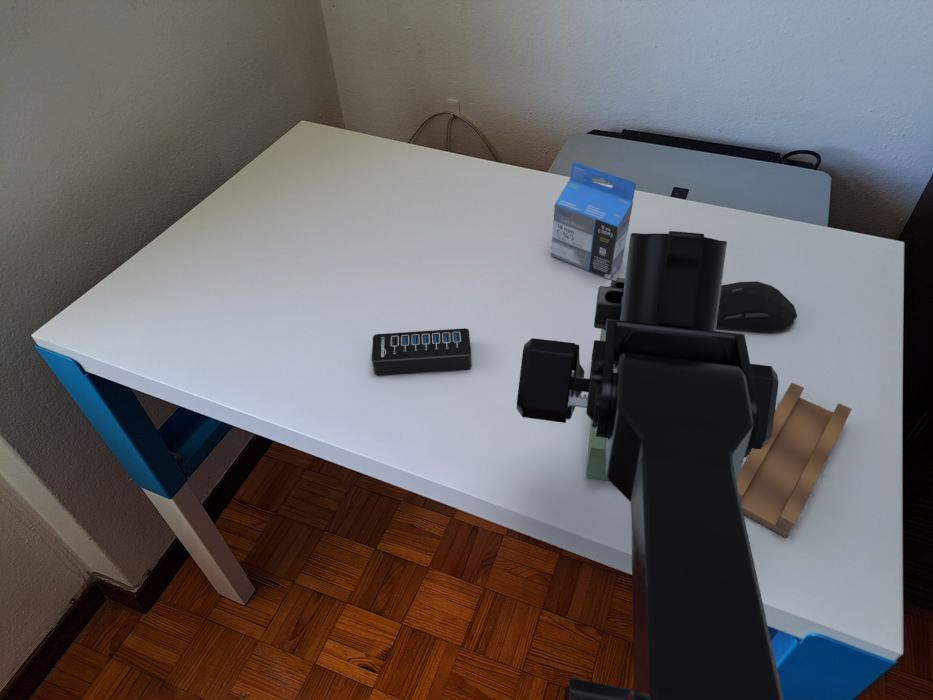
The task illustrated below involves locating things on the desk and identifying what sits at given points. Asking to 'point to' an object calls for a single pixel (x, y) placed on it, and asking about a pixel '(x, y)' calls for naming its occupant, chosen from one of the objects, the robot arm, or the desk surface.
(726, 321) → the gaming mouse
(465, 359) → the multiport hub
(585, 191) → the blue product box
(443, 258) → the desk surface
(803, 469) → the low rail
